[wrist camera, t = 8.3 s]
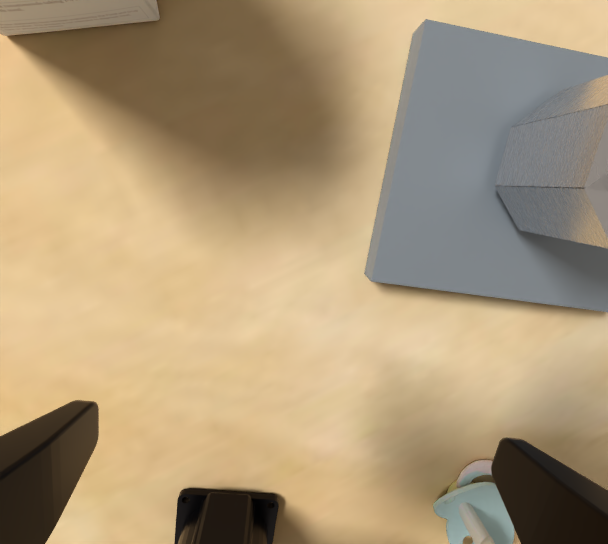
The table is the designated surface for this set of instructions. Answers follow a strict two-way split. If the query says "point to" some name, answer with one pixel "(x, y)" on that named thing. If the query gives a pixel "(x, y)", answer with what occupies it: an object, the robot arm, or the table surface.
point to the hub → (560, 166)
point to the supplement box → (71, 14)
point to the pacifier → (475, 509)
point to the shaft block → (475, 173)
